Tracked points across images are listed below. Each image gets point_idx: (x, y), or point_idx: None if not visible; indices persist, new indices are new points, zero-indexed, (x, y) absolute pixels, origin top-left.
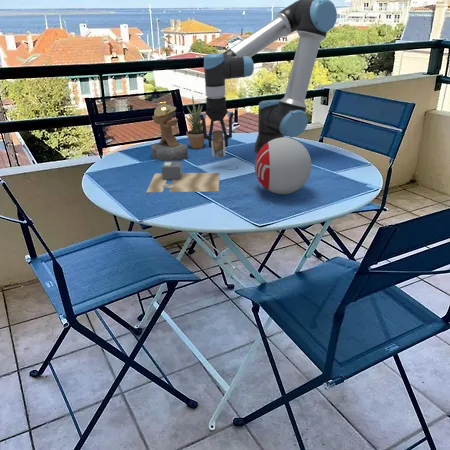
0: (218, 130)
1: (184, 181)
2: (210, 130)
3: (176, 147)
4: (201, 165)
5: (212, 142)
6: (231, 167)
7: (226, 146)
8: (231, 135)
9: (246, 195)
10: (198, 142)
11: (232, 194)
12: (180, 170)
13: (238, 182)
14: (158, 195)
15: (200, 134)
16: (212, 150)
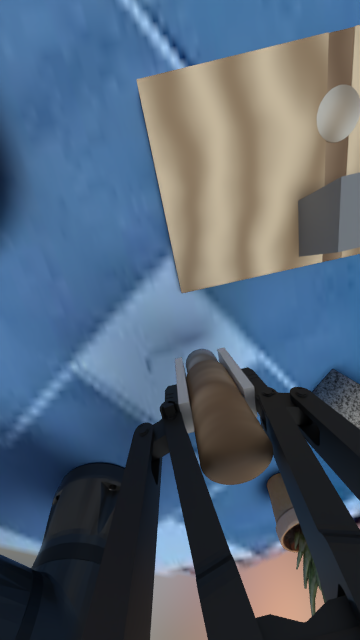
0: (235, 480)
1: (282, 180)
2: (299, 445)
3: (356, 421)
4: (250, 367)
5: (243, 381)
6: (165, 366)
7: (171, 387)
8: (135, 438)
9: (41, 113)
10: (285, 491)
11: (93, 115)
12: (323, 197)
13: (110, 246)
14: None
15: (294, 522)
16: (229, 359)
